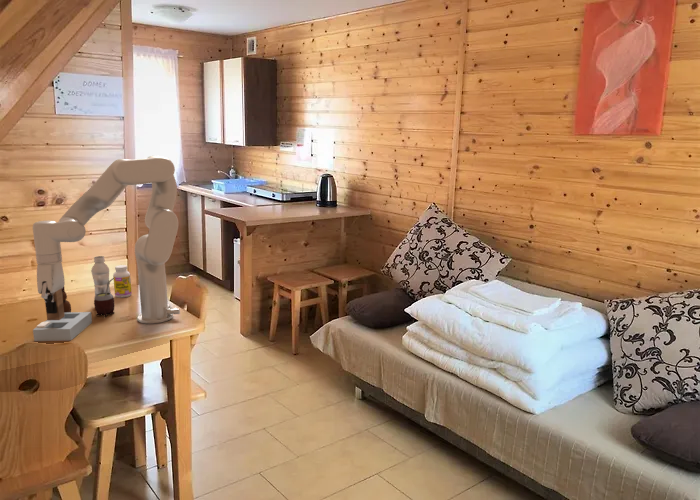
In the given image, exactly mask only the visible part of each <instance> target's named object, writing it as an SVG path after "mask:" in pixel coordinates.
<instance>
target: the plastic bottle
mask: <svg viewBox="0 0 700 500" xmlns="http://www.w3.org/2000/svg"><path fill="white" fill-rule="evenodd" d="M105 261H106V260H105V256H103V255H100V256H99V255H98V256H94V257H93V262H94V264H93V266H92V268H91V270H90V271H91V272H90V273H91V276H92V279H93V284H94V297H93V299H94V298H95V296H96V295H97V294H99V293H106V289H107V283H108V282H109V281H110V268H109V266H108V265H107V264H106V262H105ZM111 292H112V291H111V287H110V286H109V287H108V292H107V293H111ZM111 294H112V293H111Z"/></svg>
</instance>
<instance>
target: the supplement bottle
mask: <svg viewBox="0 0 700 500" xmlns="http://www.w3.org/2000/svg"><path fill="white" fill-rule="evenodd" d="M114 270H115V272H114V273H113V275H112V276H113V277H112V279H113V278H114V279H113V291H114V296H115V298H118V299H119V298H122V299H123V298H129V297H131V295H132V294H133V293H132V282H131V281H132V279H131V273H130V271H128V265H126V264H120V265H115V266H114Z"/></svg>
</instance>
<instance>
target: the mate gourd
mask: <svg viewBox="0 0 700 500" xmlns="http://www.w3.org/2000/svg"><path fill="white" fill-rule="evenodd" d="M112 281H114V278H113V277H112V278H111V279H109V282H108V283H107V289H106V293H99V294H97V295H96V296H95V295H94V297H95V298H94V297H93V299H94V300H93V305H94V306H93V307H94V310H95V312H96V316H97V317H98V316H103V317H104V318H107V317H108V316H107V315H115V298H114V295H113V293H107V292H108V287H110V284H111V282H112Z"/></svg>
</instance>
